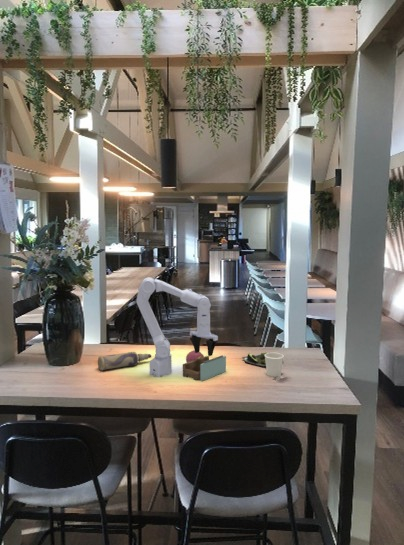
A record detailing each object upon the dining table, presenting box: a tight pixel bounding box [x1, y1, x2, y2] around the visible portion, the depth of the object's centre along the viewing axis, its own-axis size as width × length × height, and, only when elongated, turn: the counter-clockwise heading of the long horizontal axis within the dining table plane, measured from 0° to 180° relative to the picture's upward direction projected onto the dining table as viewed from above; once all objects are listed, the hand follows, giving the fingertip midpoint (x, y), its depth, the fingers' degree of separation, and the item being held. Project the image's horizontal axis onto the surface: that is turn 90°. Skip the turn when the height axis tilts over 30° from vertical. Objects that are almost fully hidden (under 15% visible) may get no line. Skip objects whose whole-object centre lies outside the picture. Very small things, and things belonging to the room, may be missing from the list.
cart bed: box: [182, 355, 210, 382], centre depth 191 cm, size 18×10×6 cm, turn 138°
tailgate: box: [200, 354, 227, 382], centre depth 187 cm, size 16×1×8 cm, turn 138°
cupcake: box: [185, 350, 205, 363], centre depth 201 cm, size 9×8×12 cm
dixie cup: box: [264, 352, 285, 381], centre depth 190 cm, size 8×8×10 cm
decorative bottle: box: [97, 351, 152, 371], centre depth 207 cm, size 26×8×7 cm, turn 119°
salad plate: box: [241, 352, 267, 369], centre depth 213 cm, size 19×18×5 cm
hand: (203, 354), depth 193 cm, fingers open, 7 cm apart
